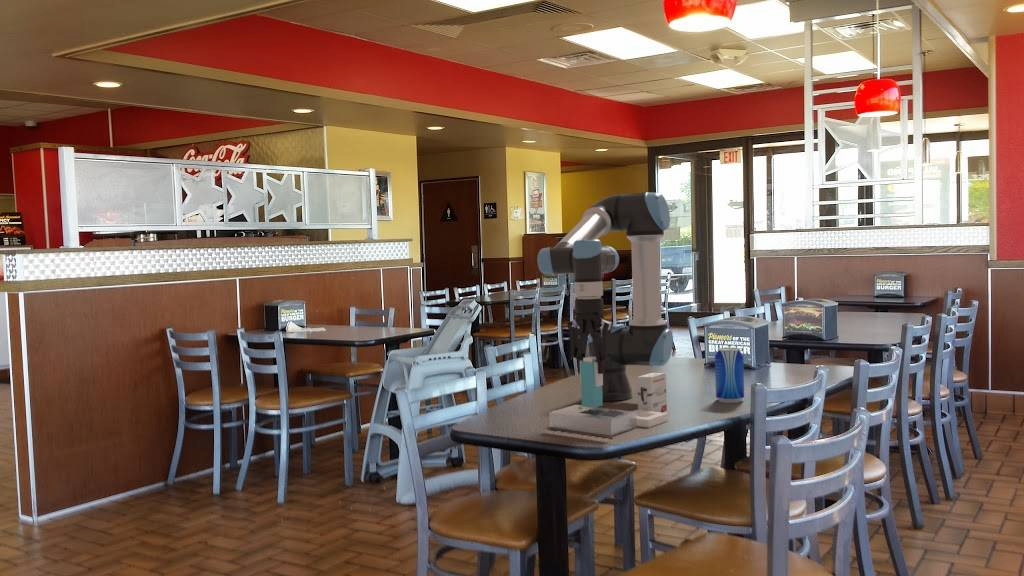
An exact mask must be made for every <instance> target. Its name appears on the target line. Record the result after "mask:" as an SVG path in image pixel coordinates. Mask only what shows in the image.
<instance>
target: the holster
mask: <svg viewBox="0 0 1024 576" xmlns="http://www.w3.org/2000/svg"><path fill="white" fill-rule="evenodd" d="M632 411H633V412H637V427H643V428H648V429H649V428H652V427H654V426H658V425H660V424H663V423H666V422H668V421H669V412H654V411H645V410H638V409H635V410H632Z"/></svg>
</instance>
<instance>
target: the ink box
mask: <svg viewBox="0 0 1024 576" xmlns="http://www.w3.org/2000/svg"><path fill="white" fill-rule="evenodd" d="M636 379H637V381H636V384H637V410H645V411H654V412H662V413H664V412H666V411H667V410H668V409H667V406H668V405H667V404H668V403H667V383H666V382H667V381H666V380H667V377H666V373H665V372H650V373H646V374H643V375H639V376H637V378H636Z"/></svg>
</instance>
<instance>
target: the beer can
mask: <svg viewBox="0 0 1024 576" xmlns="http://www.w3.org/2000/svg"><path fill="white" fill-rule="evenodd" d="M740 350H741V348H739V347H718V348H717V352H716V354H715V356H714V367H715V368H714V370H715V371H714V375H715V376H714V379H715V398H716V399H717V400H718V402H719V403H724V404H726V403H727V404H735V403H737V404H738V403H741V402H742V401H743V400H744V398H745V383H744V382H745V380H744V379H745V375H744V374H745V372H744V355H743V353H742V352H741V351H740Z"/></svg>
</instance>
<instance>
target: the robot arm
mask: <svg viewBox="0 0 1024 576" xmlns="http://www.w3.org/2000/svg"><path fill="white" fill-rule="evenodd" d="M581 217H582V218H581V220H580V221H579V222H578V223H577V224H576V225H575V226H573V228H572V229H571V230H570V231H569V232H568V233H567V234H566V235H565V236H563V238H561V240H560V241H559V242H558V243H557V244H556V245H554V246H553V247H549V246H548V247H544V248H541V249H540V250H539V252H538V254H537V258H536V259H537V265H538V266H537V267H538V269H539V271H540V273H542V274H543V275H552V276H555V275H573V285H574V287H573V288H574V297H575V299H574V312H575V313H576V315H575V317H574V319H573V320H568V321H567V323H566V325H567V328H568V332H569V345H570V346H569V347H570V348H569V349H570V356H571V358H573V359H575V360H577V372H578V373H579V376H580V377H579V381H580V383H579V384H580V386H581V369H580V362H582V361H583V358H585V357H587V355H586V354H587V347H588V357H596V360H595V362H594V375H595V387H598V386H602V397H603V402H615V401H623V400H629V399H631V398H632V397H633V390H632V387H631V384H630V381H629V378H628V375H627V366H635V367H637V366H642V367H643V366H644V367H651V368H652V367H663V366H665V365H667V364H668V362H669V360H670V359H671V356H672V351H673V348H674V347H673V346H674V345H673V344H674V334H673V331H672V330H671V329H670V328H667V322H666V321H665V320H664V319H663V318H662V307H661V306H662V305H661V303H662V302H661V300H662V297H661V268H660V267H661V266H660V265H661V264H660V263H661V262H660V261H661V260H660V241H661V240H662V238H663V237H664V236H665V235H664V231H665V230H668V229H669V228H670V222H671V214H670V208H669V206H668V203H667V200H666V198H665V196H664V195H663V194H661V193H660V192H651V191H650V192H636V193H634V192H633V193H623V194H621V193H619V194H613V195H608V196H607V197H604V198H602V199H601V200H598V201H597V202H595V203H594V204H593V205H591V206H590V207H588V208H587V209H586V210H585V211H584V212H583V215H582V216H581ZM612 232H613V233H614V232H625V234H626V235H625V236H626V238H627V239H628V240H629V241H630V244H631V270H632V271H631V278H632V280H631V281H632V310H633V312H632V314H633V315H632V316H633V318H632V320H630V322H629V323H628V328H626V326H625V324H624V323H616V324H613V322H612V321H607V320H605V317H604V314H603V313H604V299H603V298H602V296H604V289H603V287H604V285H603V274H609V273H611V272H613V271H614V270H616V269H617V267H618V266H619V263H620V256H619V253H618V252H617V250H616V249H615V248H613V247H612V246H609V245H602V242H601V240H600V239H599V238H600V237H603V236H606V235H607V234H608V233H612Z"/></svg>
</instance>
